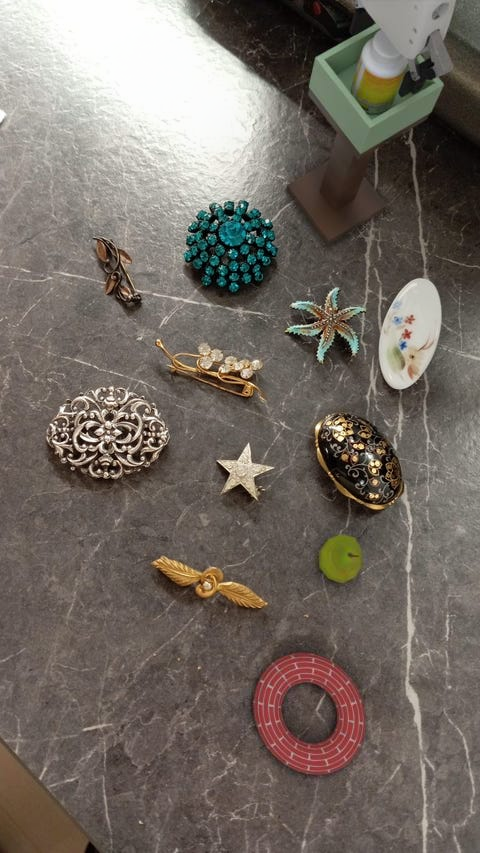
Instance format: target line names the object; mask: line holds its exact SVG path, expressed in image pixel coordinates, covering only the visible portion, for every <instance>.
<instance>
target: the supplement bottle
mask: <svg viewBox="0 0 480 853" xmlns="http://www.w3.org/2000/svg"><path fill="white" fill-rule="evenodd" d="M407 64H408V60H407V58H406V57H404V56H403V55H402V54H401V53H400V52H399V51H398V50H397V48H396V47H395V46H394V45H393V44H392V42H391V41H390V40H389V39H388V37H387V36H386V35H385V34H384V32H383V31H382V30H379V31H378V32H377V33H376V34H375V36H374V37H373V38H371V39H370V40H369V41H368V42H367V43H366V44H365V45H364V47H363V50H362V53H361V56H360V59H359V63H358V66H357V69H356V73H355V76H354V79H353V83H352V86H351V94H352V96H353V97H354V98H355V100H356V101H357V102H358V103H359V105H360V106H361V107H362V109H363V110H364V111H365V112H367V113H380V112H383V111H385V110H386V109H388V108H389V107H390V106H391V104H392V103H393V100H394V98H395V96H396V93H397V90H398V88H399V85H400V82H401V80H402V77H403V74H404V72H405V69H406V67H407Z"/></svg>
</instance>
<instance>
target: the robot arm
mask: <svg viewBox="0 0 480 853" xmlns="http://www.w3.org/2000/svg"><path fill="white" fill-rule="evenodd" d="M456 3H457V0H352V5H353V6H354V7H355V8H354V12H353V16H352V19H351V23H350V27H349V34H350V35H351V37H353V36H355V35H357V34H359V33H361V32H362V31H364V30H366V29H368V28H370V27H371V26H373V25H374V24H377V25H378V26H379V27H380V29H381V30H382V31H383V32H384V34H385V35H386V36H387V37H388V39H389V40H390V41H391V42H392V44H393V45H394V46H395V47H396V48H397V50H398V51H399V52H400V53H401V54H402V55H403V56H404V57H406V58H407V60H408V65H409V71H408V72H406V73H405V75H404V78H403V81H402V83H401V86H400V89H399V91H398V92H399V95H400V97H401V98H402V97H404V96H406V95H407V94H409V93H412V94H415V93H417V92H418V91H420V90H421V89H422V88H423V86H424V83H425V81H426V80H432V79H434V78H437V77H439V78H440V77H441V76H444V75H446V74H448V73H449V72H451V71H452V70H454V63H453V61H452V59H451V57H450V54H449V52H448V50H447V47H446V45H445V42H444V40H445V38H446V35H447V32H448V30H449V27H450V24H451V21H452V17H453V15H454V11H455V6H456ZM419 55H421V56H422V55H423V59H424V60H425V61H423V62H421V63H420V64H419V63H418V58H417V56H419Z"/></svg>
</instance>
